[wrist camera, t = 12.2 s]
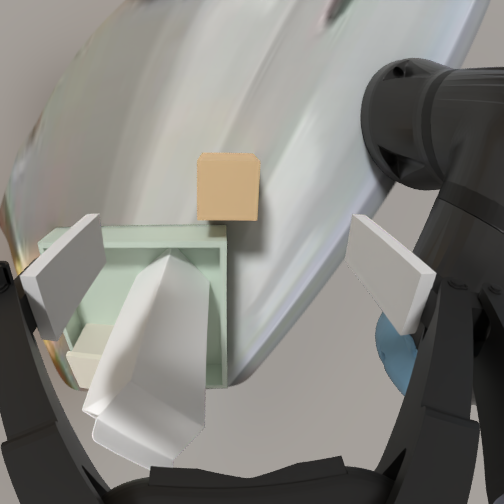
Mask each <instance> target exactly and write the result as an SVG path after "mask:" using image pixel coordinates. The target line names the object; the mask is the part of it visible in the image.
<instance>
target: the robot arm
mask: <svg viewBox="0 0 504 504" xmlns="http://www.w3.org/2000/svg"><path fill="white" fill-rule="evenodd" d="M361 125H362V132H363V136H364V140H365V143H366V146H367V148H368V151H369V153H370V155H371V156H372V158H373V160H374V161H375V163H376V164H377V165H378V167H379V168H380V169H381V170H382V171H383V172H384V173H385V174H386V175H387V176H389V177H390V178H392V179H393V180H395V181H397V182H399V183H402V184H403V185H405V186H408V187H411V188H414V189H418V190H438V189H440V191H439V194H438V196H437V198H436V200H435V202H434V205H433V207H432V210H431V212H430V215H429V217H428V219H427V222H426V224H425V226H424V229H423V231H422V233H421V235H420V237H419V239H418V241H417V243H416V246H415V248H414V250H413V252H411V251H410V250H409V249H407V248H406V247H405V246H404V245H403V244H401V243H400V242H399V241H398V240H396V239H395V238H394V237H393V236H391V235H390V234H389V233H387V232H386V231H385V230H384V229H383V228H381V227H380V226H379V225H377V224H376V223H375V222H374V221H372V220H371V219H370V218H368V217H367V216H366V215H357V214H352V219H351V226H350V232H349V238H348V244H347V250H346V255H345V263H346V264H347V265H348V266H349V267H350V269H351V270H352V271H353V273H354V274H355V275H356V277H357V278H358V279H359V280H360V282H361V283H362V284H363V286H364V287H365V288H366V290H367V291H368V292H369V294H370V295H371V296H372V297H373V299H374V300H375V301H376V303H377V304H378V306H379V307H380V308H381V310H382V311H383V312H382V314H381V316H380V318H379V320H378V323H377V326H376V333H375V339H376V347H377V351H378V354H379V357H380V359H381V361H382V362H383V364H384V367H385V371H386V372H387V374H388V376H389V377H390V379H391V380H392V382H393V383H394V384H395V386H396V387H397V388H398V390H399V391H400V392H401V393H402V394H403V395H404V396H405V397H404V400H403V403H402V406H401V409H400V412H399V415H398V418H397V420H396V423H395V426H394V428H393V431H392V434H391V436H390V439H389V441H388V444H387V446H386V449H385V451H384V453H383V456H382V458H381V460H380V462H379V464H378V466H377V468H376V469H375V471H371V470H367V469H362V468H357V467H348V466H344V462H343V459H342V457H341V456H337V457H332V458H326V459H321V460H315V461H309V462H302V463H297V464H294V465H291V466H288V467H285V468H282V469H280V470H276V471H273V472H270V473H267V474H264V475H261V476H257V477H254V478H241V477H235V476H230V475H224V474H219V473H214V472H210V471H205V470H201V469H189V468H188V469H187V468H170V467H157V466H150V477H147V478H141V479H136V480H132V481H129V482H126V483H123V484H121V485H119V486H117V487H115V488H113V489H110V488H109V487H108V485H107V484H106V483H105V482H104V480H103V479H102V477H101V476H100V475H99V473H98V472H97V470H96V469H95V467H94V465H93V464H92V462H91V460H90V459H89V457H88V455H87V454H86V452H85V450H84V448H83V447H82V445H81V443H80V441H79V439H78V438H77V436H76V434H75V432H74V430H73V428H72V426H71V424H70V422H69V420H68V418H67V416H66V414H65V412H64V410H63V408H62V406H61V403H60V401H59V399H58V397H57V395H56V392H55V390H54V388H53V385H52V383H51V381H50V378H49V376H48V373H47V371H46V368H45V365H44V363H43V360H42V357H41V354H40V352H39V349H38V346H37V343H36V340H35V338H34V335H33V332H34V331H35V329H36V328H38V331H39V333H40V336H41V338H42V339H44V340H51V341H58V339H59V338H60V336H61V334H62V332H63V331H64V329H65V327H66V325H67V324H68V322H69V320H70V319H71V317H72V315H73V314H74V312H75V310H76V309H77V307H78V305H79V304H80V302H81V301H82V299H83V297H84V296H85V294H86V293H87V291H88V290H89V288H90V286H91V285H92V283H93V282H94V280H95V279H96V277H97V276H98V274H99V273H100V271H101V270H102V268H103V267H104V265H105V264H106V256H105V250H104V243H103V236H102V229H101V222H100V214H86V215H85V216H84V217H83V218H82V219H80V220H79V221H78V222H77V223H76V224H75V225H73V226H72V227H71V228H70V229H69V230H68V231H67V232H65V233H64V234H63V235H62V236H61V237H60V238H59V239H58V240H56V241H55V242H54V243H53V244H52V245H51V246H50V247H49V248H48V249H47V250H46V251H45V252H44V253H42V254H41V255H40V256H39V257H38V258H36V259H35V260H33V261H32V262H31V263H30V264H29V266H27V267H26V268H25V269H24V271H22V272H21V273H20V274H19V275H18V276H17V278H15V280H13V277H12V274H11V270H10V267H9V263H8V262H6V261H0V413H1V417H2V421H3V425H4V429H5V432H6V436H7V440H8V441H6V442H3V443H2V445H1V450H2V455H3V458H4V461H5V464H6V467H7V470H8V473H9V476H10V479H11V481H12V484H13V487H14V489H15V492H16V494H17V497H18V499H19V502H20V504H467V502H468V498H469V493H470V489H471V484H472V479H473V474H474V469H475V463H476V457H477V450H478V442H479V434H480V430H481V438H482V446H483V456H484V469H485V481H486V491H487V497H488V502H489V504H504V67H487V68H485V67H484V68H469V69H468V68H467V69H452V68H450V67H447V66H444V65H441V64H439V63H436V62H433V61H430V60H426V59H421V58H408V59H403V60H398V61H394V62H392V63H389V64H387V65H385V66H384V67H382V68H381V69H380V70H379V71H378V72H377V73H376V74H375V75H374V76H373V77H372V79H371V80H370V82H369V84H368V86H367V88H366V90H365V93H364V97H363V101H362V107H361ZM471 405H476V406H477V411H478V417H479V423H478V422H477V421H474V420H470V411H471Z"/></svg>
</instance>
